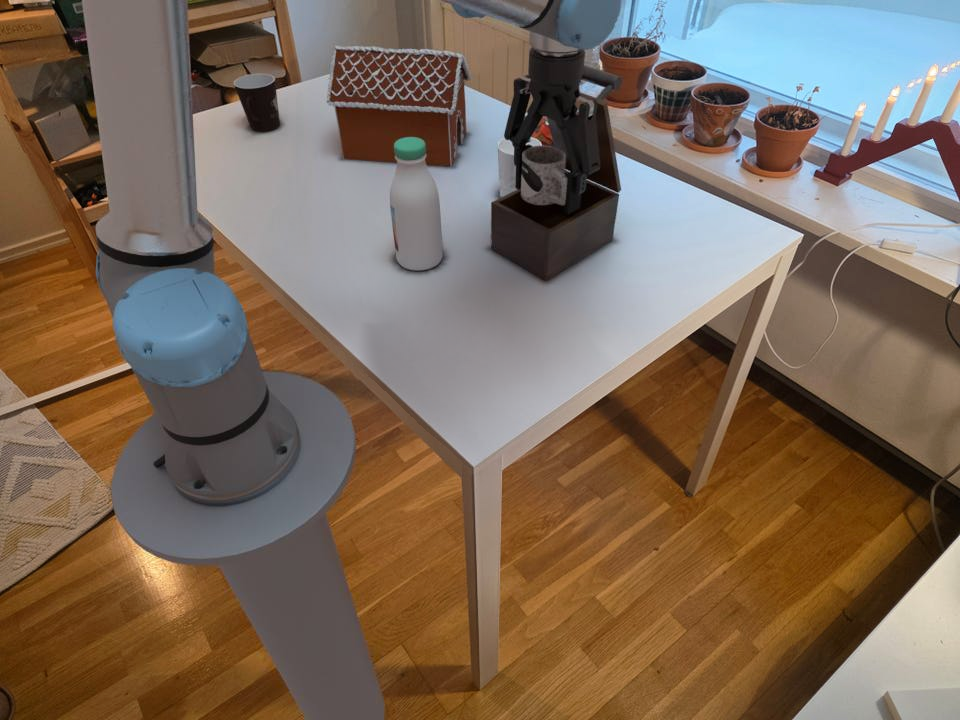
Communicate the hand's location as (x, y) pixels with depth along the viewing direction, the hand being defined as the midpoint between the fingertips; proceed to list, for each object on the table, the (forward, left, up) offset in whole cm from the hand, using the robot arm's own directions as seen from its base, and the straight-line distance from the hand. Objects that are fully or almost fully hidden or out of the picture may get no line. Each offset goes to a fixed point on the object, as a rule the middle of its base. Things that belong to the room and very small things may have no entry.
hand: (546, 197), depth 102 cm
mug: (0, 0, 0) cm, 0 cm away
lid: (+7, +2, +7) cm, 10 cm away
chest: (+2, +1, -10) cm, 10 cm away
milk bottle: (-19, +9, -10) cm, 23 cm away
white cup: (+6, +18, -10) cm, 21 cm away
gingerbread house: (-3, +48, -10) cm, 49 cm away
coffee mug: (-27, +73, -10) cm, 78 cm away
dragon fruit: (+18, +30, -10) cm, 36 cm away
